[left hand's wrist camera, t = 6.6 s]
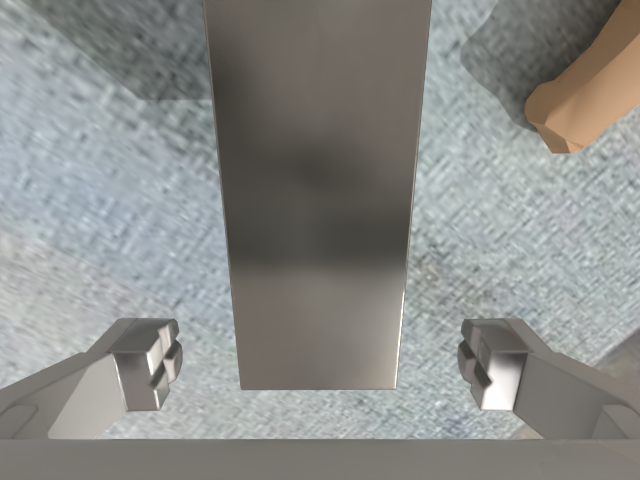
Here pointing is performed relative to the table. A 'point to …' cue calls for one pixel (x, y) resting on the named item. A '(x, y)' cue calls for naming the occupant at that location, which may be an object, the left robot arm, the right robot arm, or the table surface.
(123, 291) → the table surface
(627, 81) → the squash
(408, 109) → the bar
